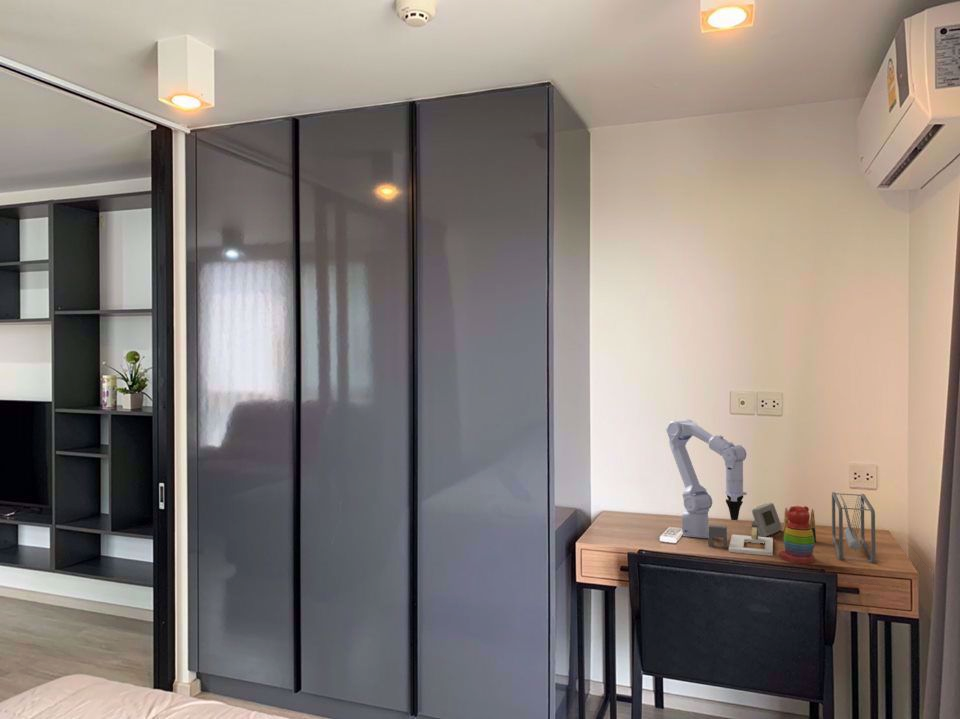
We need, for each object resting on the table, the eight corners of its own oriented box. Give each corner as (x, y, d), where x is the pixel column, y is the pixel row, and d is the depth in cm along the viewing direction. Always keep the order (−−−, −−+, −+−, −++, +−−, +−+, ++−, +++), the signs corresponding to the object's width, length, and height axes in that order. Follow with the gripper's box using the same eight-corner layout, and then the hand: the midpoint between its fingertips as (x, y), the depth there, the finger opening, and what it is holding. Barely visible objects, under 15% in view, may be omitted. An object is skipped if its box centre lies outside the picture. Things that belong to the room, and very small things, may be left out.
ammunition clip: (784, 540, 254) (783, 507, 254) (783, 539, 256) (783, 506, 256) (816, 542, 251) (815, 509, 251) (815, 541, 253) (814, 508, 253)
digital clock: (763, 539, 256) (763, 510, 256) (742, 534, 264) (742, 506, 264) (789, 532, 265) (789, 504, 265) (768, 528, 273) (768, 500, 273)
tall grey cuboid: (708, 546, 247) (708, 526, 247) (709, 544, 250) (709, 525, 250) (726, 548, 245) (726, 528, 245) (727, 546, 247) (726, 526, 247)
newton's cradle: (832, 538, 256) (831, 490, 256) (864, 541, 252) (863, 492, 252) (839, 561, 228) (838, 507, 228) (875, 564, 224) (875, 510, 224)
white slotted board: (728, 551, 240) (728, 534, 240) (732, 537, 259) (731, 521, 259) (772, 556, 235) (772, 537, 235) (772, 541, 253) (772, 524, 253)
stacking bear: (808, 554, 236) (807, 502, 236) (822, 563, 226) (821, 509, 225) (776, 555, 236) (775, 502, 236) (788, 564, 226) (788, 509, 226)
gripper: (746, 484, 240) (746, 523, 240) (746, 476, 254) (747, 513, 254) (724, 482, 243) (724, 521, 243) (726, 475, 256) (726, 512, 256)
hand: (734, 517), depth 249 cm, fingers open, 7 cm apart
